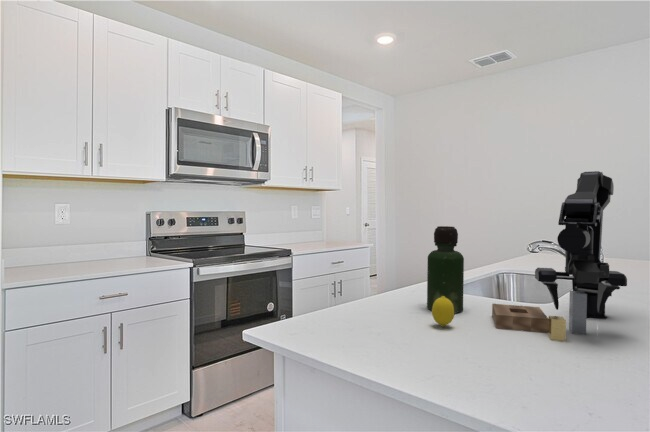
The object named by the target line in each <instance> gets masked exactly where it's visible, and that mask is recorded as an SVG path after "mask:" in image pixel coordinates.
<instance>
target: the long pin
mask: <svg viewBox="0 0 650 432" xmlns="http://www.w3.org/2000/svg"><path fill="white" fill-rule="evenodd" d="M568 309H569V313H568V315H569V316H568V318H569V319H568V331H569V332H570V333H571V334H575V335H587V317H586V316H587V294H586V293H585V292H582V291H573V290H569V308H568Z"/></svg>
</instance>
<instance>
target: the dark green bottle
mask: <svg viewBox="0 0 650 432" xmlns="http://www.w3.org/2000/svg"><path fill="white" fill-rule="evenodd" d="M458 239H459V233H458V230H457V228H455V226H450V225H449V226H448V225H447V226H443V225H441V226H436V228H435V229H434V232H433V243H434V246H436V248H437V249H435V250H432V251H431V252H430V253H428V256H427V271H426V273H427V274H426V275H427V277H426V278H427V280H426V281H427V282H426V283H427V284H426V285H427V286H426V287H427V288H426V290H427V291H426V298H427V299H426V308H427V309H428V310H430V311H432V307H433V304H434V302H435V300H437V299H438V298H441V297H442V296H445V298H447V299H449V300H450V301H451V302H452V304H453V307H454V314H457V313H461V312H462V311H463V310H464V281H465V279H464V278H465V277H464V273H465V272H464V271H465V268H464V267H465V258H464V256H463V254H462V253H461V252H460V251H458V250H455V249H454V248H455V247H457V245H458V242H459V241H458Z"/></svg>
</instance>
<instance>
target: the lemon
mask: <svg viewBox="0 0 650 432" xmlns="http://www.w3.org/2000/svg"><path fill="white" fill-rule="evenodd" d="M431 314H432V315H431V316H432V317H433V320H434V321H435V323H437V324H438V325H440V326H441V327H442V328H445V326H447V325H449V324H451V323H452V322H453V320H454V318H455V313H454V307H453V304H452V302H451V301H450V300H449V299H447V298H445V296H442V297H441V298H438V299H437V300H435V302H434V304H433V307H432V310H431Z"/></svg>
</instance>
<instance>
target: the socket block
mask: <svg viewBox="0 0 650 432" xmlns="http://www.w3.org/2000/svg"><path fill="white" fill-rule="evenodd" d="M491 306H492V307H491V315H492V320H493V324H494V327H495V329H501V330H510V331H511V330H512V331H521V330H523V331H524V332H532V331H533V333H534V332H535V333H546V334H548V324H549V316H547V314H546V313H545V312H544V311H543V310H542V308H540V306H527V305H517V304H516V305H515V304H514V305H512V304H501V303H492V304H491ZM523 331H522V332H523Z"/></svg>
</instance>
